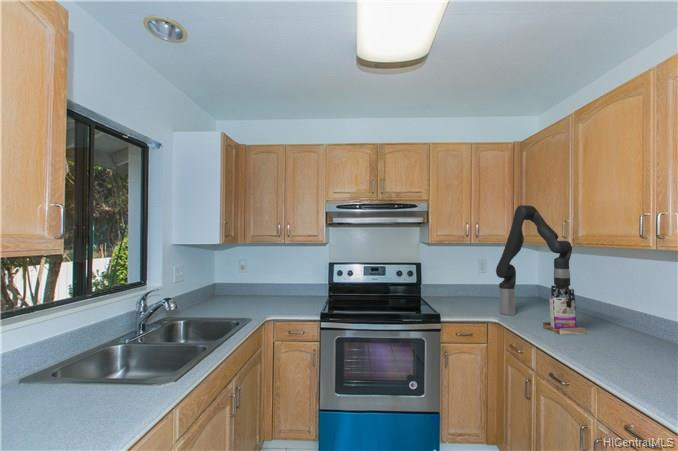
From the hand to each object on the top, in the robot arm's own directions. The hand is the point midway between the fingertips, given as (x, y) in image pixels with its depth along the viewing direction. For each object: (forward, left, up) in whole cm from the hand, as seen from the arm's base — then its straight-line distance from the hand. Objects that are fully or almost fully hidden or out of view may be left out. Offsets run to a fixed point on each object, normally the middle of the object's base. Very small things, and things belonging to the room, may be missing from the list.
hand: (562, 306), depth 179 cm
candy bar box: (0, 0, -12) cm, 12 cm away
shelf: (0, 0, -14) cm, 14 cm away
